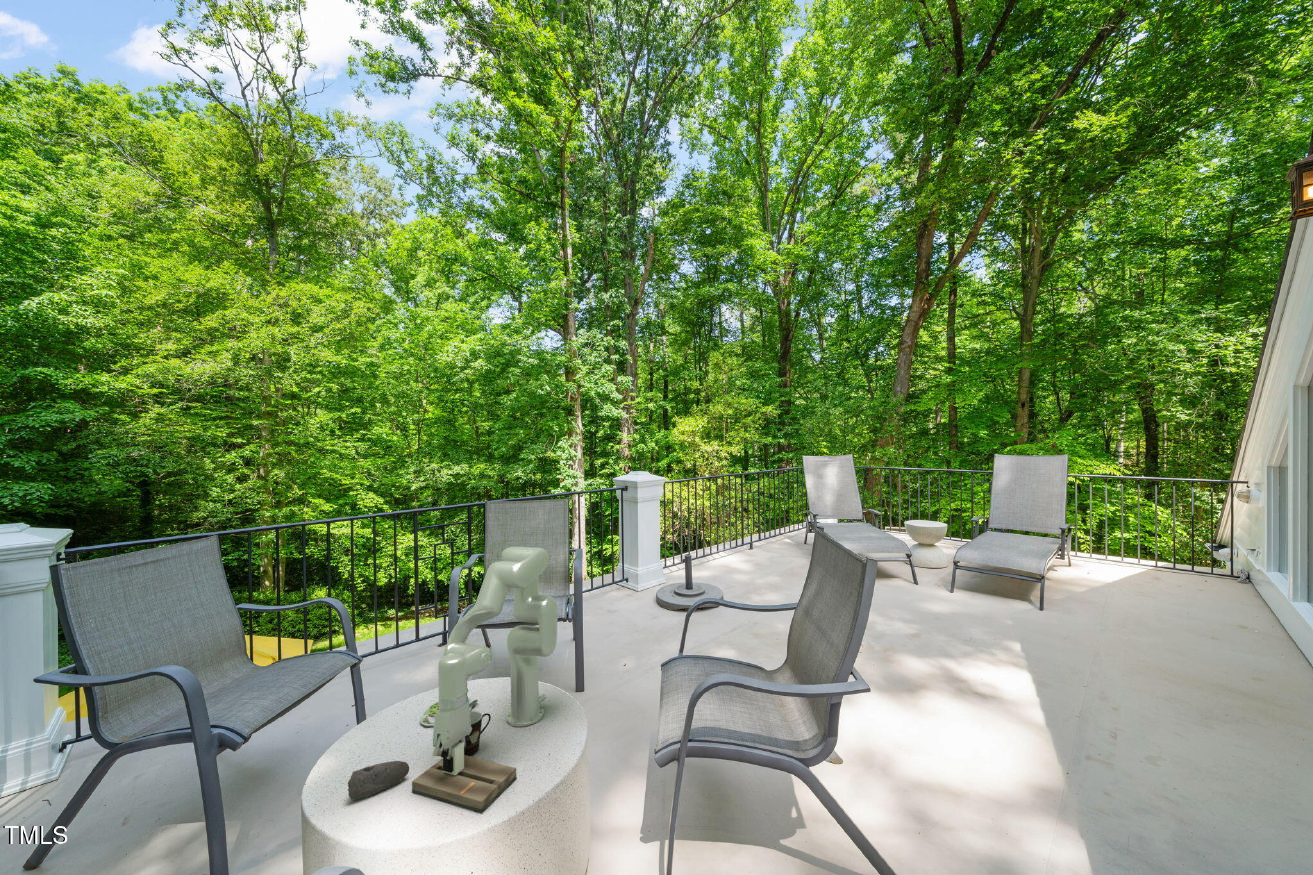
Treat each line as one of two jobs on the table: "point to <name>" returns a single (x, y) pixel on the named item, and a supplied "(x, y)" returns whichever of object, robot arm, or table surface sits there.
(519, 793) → the table surface
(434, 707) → the salad plate
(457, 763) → the fader
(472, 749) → the coffee mug
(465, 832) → the table surface
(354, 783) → the perforated stone tool
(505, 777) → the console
